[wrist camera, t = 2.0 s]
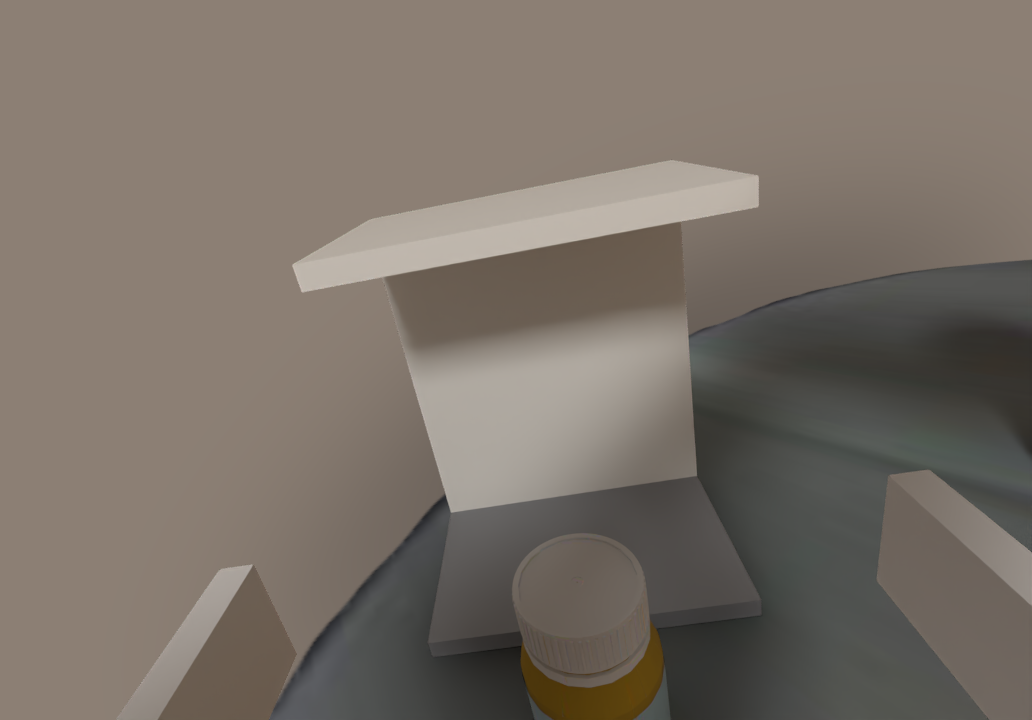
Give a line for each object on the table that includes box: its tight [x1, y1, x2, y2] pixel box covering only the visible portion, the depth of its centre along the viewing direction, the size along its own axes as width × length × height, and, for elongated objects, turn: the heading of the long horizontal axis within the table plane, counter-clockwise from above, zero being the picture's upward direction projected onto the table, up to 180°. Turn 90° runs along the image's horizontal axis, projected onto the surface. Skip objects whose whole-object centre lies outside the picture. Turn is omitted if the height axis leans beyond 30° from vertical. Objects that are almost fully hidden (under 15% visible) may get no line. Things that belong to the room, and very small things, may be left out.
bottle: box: [512, 533, 671, 720], centre depth 27 cm, size 7×7×15 cm
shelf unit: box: [292, 160, 762, 657], centre depth 40 cm, size 16×24×30 cm, turn 90°
